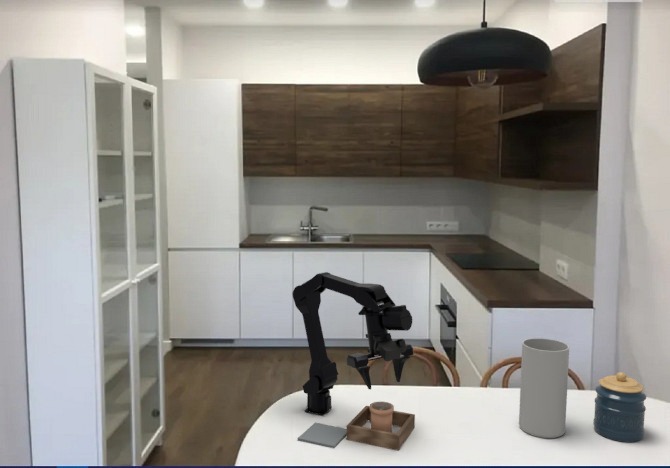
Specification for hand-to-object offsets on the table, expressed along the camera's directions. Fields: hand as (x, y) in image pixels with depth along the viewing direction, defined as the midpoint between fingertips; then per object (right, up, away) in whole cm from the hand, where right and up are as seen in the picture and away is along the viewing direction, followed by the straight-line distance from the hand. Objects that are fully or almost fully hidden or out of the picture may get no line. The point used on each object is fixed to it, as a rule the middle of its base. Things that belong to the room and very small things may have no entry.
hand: (384, 385), depth 161 cm
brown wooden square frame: (-1, -14, +1) cm, 14 cm away
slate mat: (-17, -14, -1) cm, 22 cm away
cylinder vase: (+46, -14, +4) cm, 48 cm away
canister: (+67, -14, +3) cm, 68 cm away
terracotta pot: (-1, -14, +1) cm, 14 cm away
